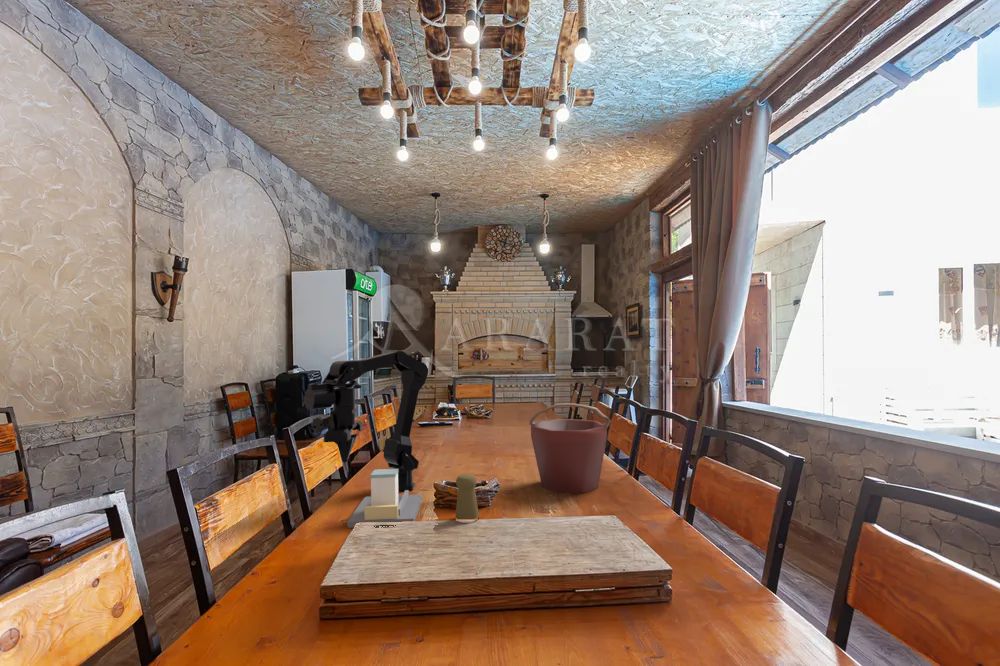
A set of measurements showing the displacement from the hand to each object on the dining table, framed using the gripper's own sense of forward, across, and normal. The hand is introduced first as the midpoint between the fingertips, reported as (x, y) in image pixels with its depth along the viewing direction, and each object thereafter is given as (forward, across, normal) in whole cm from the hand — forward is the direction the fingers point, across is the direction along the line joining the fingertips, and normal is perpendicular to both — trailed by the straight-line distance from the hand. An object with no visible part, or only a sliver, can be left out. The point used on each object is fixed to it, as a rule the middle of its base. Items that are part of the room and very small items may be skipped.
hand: (344, 461), depth 135 cm
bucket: (+12, -9, +65) cm, 67 cm away
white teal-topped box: (+10, +11, +13) cm, 20 cm away
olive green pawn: (+12, +15, +34) cm, 39 cm away
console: (+12, +8, +13) cm, 19 cm away
